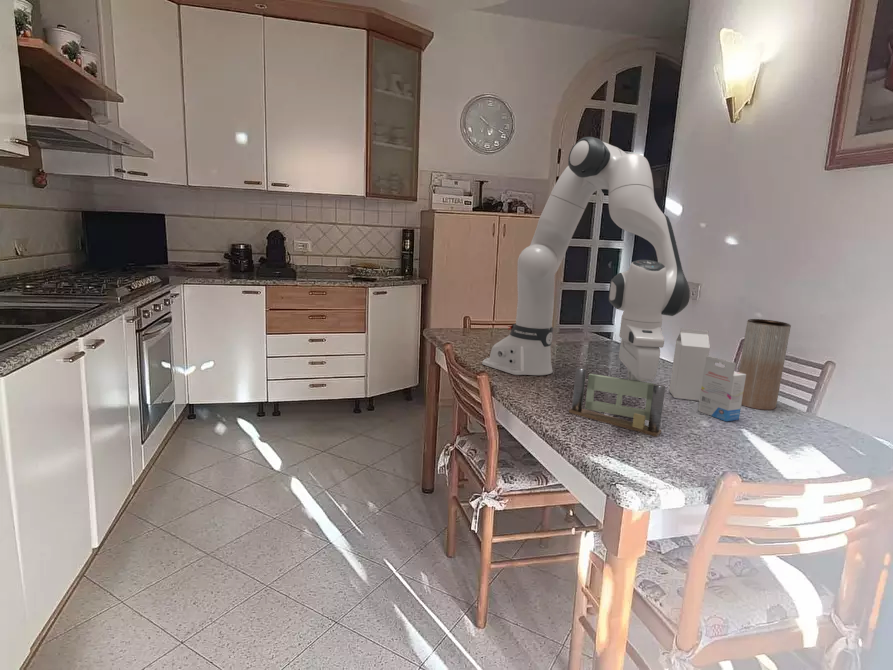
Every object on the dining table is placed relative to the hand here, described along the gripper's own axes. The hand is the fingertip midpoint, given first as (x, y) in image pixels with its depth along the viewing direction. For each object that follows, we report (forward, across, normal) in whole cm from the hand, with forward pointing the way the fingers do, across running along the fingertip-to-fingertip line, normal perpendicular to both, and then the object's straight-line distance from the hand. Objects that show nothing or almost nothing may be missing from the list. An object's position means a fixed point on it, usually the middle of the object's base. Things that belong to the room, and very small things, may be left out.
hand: (632, 388), depth 128 cm
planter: (+8, -22, +39) cm, 45 cm away
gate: (+6, +2, -3) cm, 7 cm away
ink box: (+8, -9, +24) cm, 27 cm away
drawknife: (+7, +4, -4) cm, 9 cm away
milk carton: (+8, -24, +21) cm, 33 cm away
